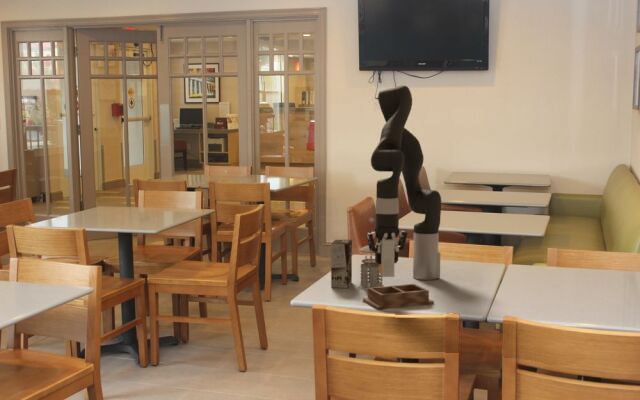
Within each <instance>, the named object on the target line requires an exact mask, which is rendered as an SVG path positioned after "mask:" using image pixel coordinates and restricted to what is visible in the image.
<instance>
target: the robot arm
mask: <svg viewBox="0 0 640 400" xmlns="http://www.w3.org/2000/svg"><path fill="white" fill-rule="evenodd" d="M377 95H378V96H377V99H378V104H379V109H380V111H381V112H382V113H381V114H382V116H383V118H384V121H385V124H384V125H383V127H382V129H381V133H380V139H379V142H378V143H377V146H376V147H375V149H374V150H373V152H372V154H371V158H370V165H371V167H372V169H373V170H375V171H376V172H389V173H390V172H392V174H391V176H389V177H386V178H380V179H378V180H377V181H376V195H375V196H376V199H375V218H374V222H375V229H374V230H373V231H371V232H366V234H365V237H366V239H367V240H366V241H367V244H368V245H369V249H370V250H371V251H373V252H375V253H374V259H375V262H377V264H381V253H380V252H381V247H382V240H386V239H393V240H394V241H395V257H394V264H397V263H398V262H399V252H400V251H401V250H402V251H403V250H404V249H405V246H406V245H405V244H406V241H407V237H408V232H407V231H405V230H400V228H399V225H400V223H399V222H400V221H399V219H400V203H399V184H400V179H401V174H402V177H403V180H404V186H405V190H406V196H407V199H408V200H407V201H408V204H409V208H410V210H411V211H412V212H413V213H415V214H418V215H424V220H423V221H421V222H418V223H415V224H414V225H413V253H412V255H413V256H412V257H413V259H412V260H413V262H412V264H413V265H412V266H413V267H412V268H413V271H412V275H413V276H412V277H413V279H416V280H421V281H422V280H424V281H425V280H427V281H429V280H436V279H440V278H441V252H439V230H440V225H441V213H442V197H441V194H440V193H439V192H438V190H434V189H424V188H423V189H422V187H421V184H420V179H419V176H420V173H421V170H422V167H423V164H424V154H423V150H422V147H421V144H420V141H419V139H418V138H417V137H416V136H415V135H414V134H413V133H411V131H409V130H408V129H407V128H406V123H407V121H408V119H409V116H410V113H411V110H412V106H413V97H412V93H411V90H410V88H409V87H408V86H407V85H398V86H394V87H393V86H392V87H388V88H384V89H381V90H379V92H378V94H377ZM397 237H399V239H398V240H397ZM375 238H377V240H376V242H375ZM368 245H367V246H368ZM375 246H376V247H375Z"/></svg>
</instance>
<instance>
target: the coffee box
mask: <svg viewBox="0 0 640 400" xmlns="http://www.w3.org/2000/svg"><path fill="white" fill-rule="evenodd" d="M352 242H353V240H352V239H334V240H333V241H332V242H331V243H330V248H331V249H330V257H331V258H330V279H331V280H330V287H331V288H339V289H348V288H349V287H350V286H351V285H352V283H353V276H352V275H353V272H352V271H353V269H352V268H353V267H352V266H353V258H352V257H353V254H352V252H353V250H352V249H353V248H352V247H353V246H352V245H353V243H352Z"/></svg>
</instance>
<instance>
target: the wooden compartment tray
mask: <svg viewBox="0 0 640 400" xmlns="http://www.w3.org/2000/svg"><path fill="white" fill-rule="evenodd" d="M362 302H364V303H365V304H367V305H368V306H370V307H372V308H373V309H375V310H377V311H380V310H381V311H382V310H391V309H398V308H399V309H401V308H410V307H422V306H428V305H429V306H430V305H434V304H435V301H434V300H432V299H430V290H429V289H427V288H425V287H422V286H420V285H418V284H416V283H409V284H397V285H396V284H395V285H386V286H385V285H384V287H373V288H368V291H367V297H363V298H362Z"/></svg>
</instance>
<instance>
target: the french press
mask: <svg viewBox="0 0 640 400" xmlns="http://www.w3.org/2000/svg"><path fill="white" fill-rule="evenodd" d="M368 221H369V223H373V222H375V218H373V217H370V218H369V219H368ZM375 247H376V245H375ZM360 252H361V253H366V254H371V255H370V256H369V258H368V256H367V255H365V258H364V259H362V260H361V262H362V263H361V264H360V284H359V285H358V286H357V289H359V290H361V291H367V292H368V288H373V287H384V286H385V285H384V284H383V277H382V276H381V274H380V273H379V264H377V262H375V258H373V254H375V252H373V251H371V250H370V249H369V245H365V246H363V247H361V248H360Z"/></svg>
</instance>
